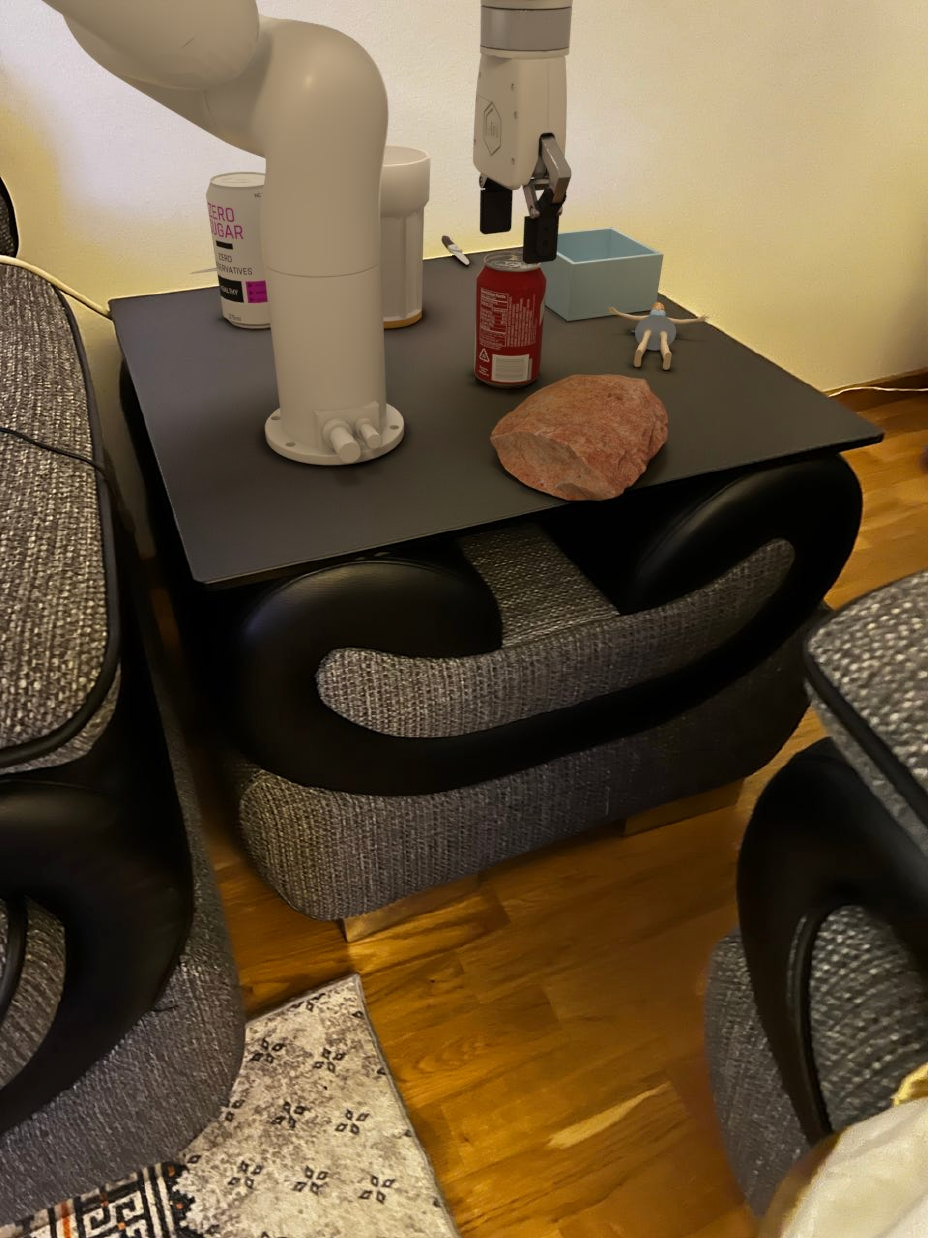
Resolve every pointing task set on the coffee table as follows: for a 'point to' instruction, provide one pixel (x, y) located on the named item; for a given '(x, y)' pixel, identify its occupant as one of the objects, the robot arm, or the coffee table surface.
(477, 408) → the coffee table surface
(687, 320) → the fairy figurine
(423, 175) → the cup
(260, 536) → the coffee table surface
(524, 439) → the stone
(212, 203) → the supplement can
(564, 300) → the case
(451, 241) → the pocket knife
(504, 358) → the soda can
